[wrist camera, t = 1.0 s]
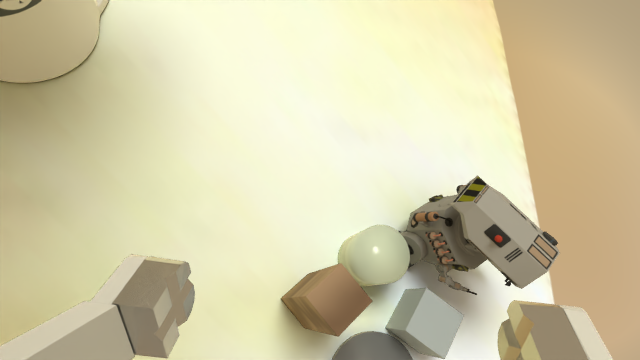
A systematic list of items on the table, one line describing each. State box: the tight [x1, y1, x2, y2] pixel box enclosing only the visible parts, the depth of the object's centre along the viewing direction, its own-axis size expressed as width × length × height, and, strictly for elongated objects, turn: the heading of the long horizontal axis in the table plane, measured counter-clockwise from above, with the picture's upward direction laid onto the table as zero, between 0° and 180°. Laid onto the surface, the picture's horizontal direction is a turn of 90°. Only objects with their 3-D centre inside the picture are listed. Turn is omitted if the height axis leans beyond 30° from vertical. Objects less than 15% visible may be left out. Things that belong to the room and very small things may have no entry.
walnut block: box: [281, 263, 372, 336], centre depth 37 cm, size 4×4×12 cm
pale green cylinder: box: [338, 225, 410, 286], centre depth 43 cm, size 6×6×6 cm
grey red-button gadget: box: [399, 176, 559, 295], centre depth 41 cm, size 9×12×15 cm
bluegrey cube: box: [385, 288, 464, 359], centre depth 43 cm, size 5×5×5 cm
